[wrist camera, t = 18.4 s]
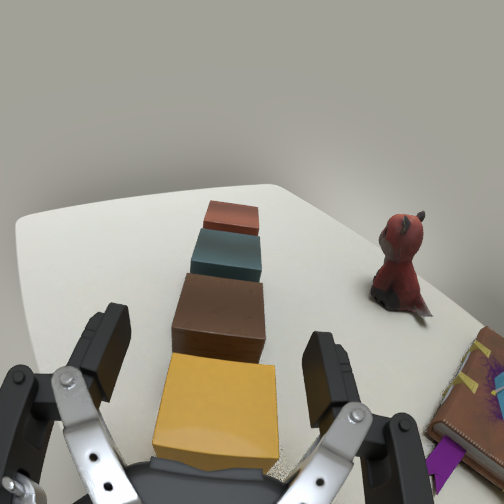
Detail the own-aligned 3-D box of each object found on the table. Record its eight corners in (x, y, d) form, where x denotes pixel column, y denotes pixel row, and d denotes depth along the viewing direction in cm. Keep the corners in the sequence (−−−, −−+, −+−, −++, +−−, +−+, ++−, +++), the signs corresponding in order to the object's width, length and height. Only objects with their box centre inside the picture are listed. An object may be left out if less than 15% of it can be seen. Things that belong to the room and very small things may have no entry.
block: (246, 495, 14) (279, 458, 9) (168, 486, 14) (151, 443, 9) (247, 434, 18) (274, 365, 14) (178, 425, 18) (172, 351, 13)
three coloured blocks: (242, 415, 20) (265, 339, 15) (175, 406, 19) (171, 327, 15) (244, 276, 35) (258, 206, 30) (203, 271, 35) (210, 200, 30)
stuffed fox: (421, 338, 30) (470, 252, 23) (348, 292, 36) (382, 205, 30) (433, 311, 35) (472, 236, 29) (370, 273, 41) (399, 197, 35)
